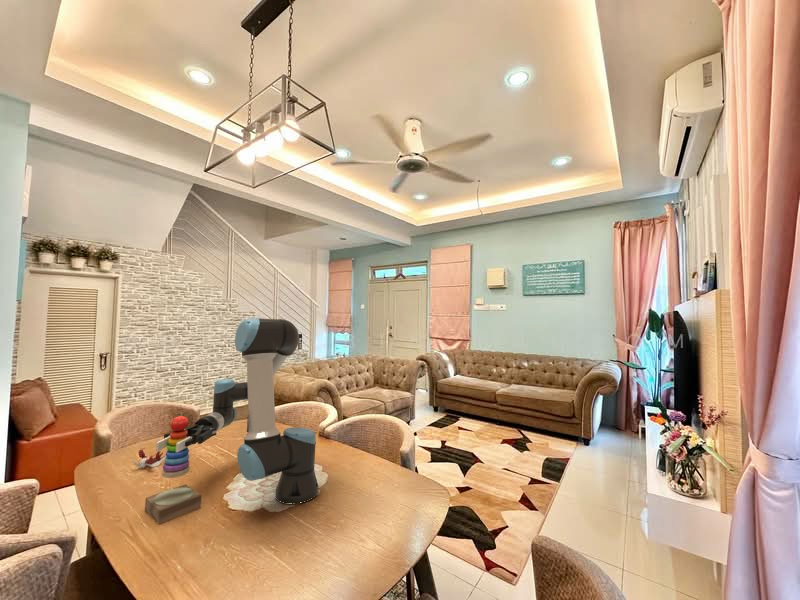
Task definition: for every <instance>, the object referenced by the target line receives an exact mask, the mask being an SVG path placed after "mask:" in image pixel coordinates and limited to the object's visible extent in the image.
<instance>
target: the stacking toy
mask: <svg viewBox="0 0 800 600" xmlns="http://www.w3.org/2000/svg"><path fill="white" fill-rule="evenodd" d="M188 425H189V419H188V418H187V417H186V416H183V415H179V416H176V417H174V418H173V419H172V420H171V422H170V428H171V431H172V432H171V431H170V432H171V433H170V437H171V438H170V439H169V440H168V444H169V445H168V446H167V447H166V452H165V457H166V458H165V459H164V460H163V461H164V463H163V464H162V471H161V476H162V477H164V478H166V479H175V478H180V477H182V476H183V477H184V476H185V475H186V474H188V473H189V472H190V470H191V467H190V454H189V453H190V449H189V447H186V448H184V449H183V450H181V451H179V452H176V443H178V442H180V441H182V440H184V439H186V438H187V437H186V435H187V434H188V432H187V430H185V429H186V428H188V427H189V426H188Z"/></svg>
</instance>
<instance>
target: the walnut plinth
mask: <svg viewBox="0 0 800 600" xmlns="http://www.w3.org/2000/svg"><path fill="white" fill-rule="evenodd" d="M201 505H202V495H201V494H200V493H198V491H196V490H194V489H193V488H191V487H190V486H189V485H188V484H183V485H180V486H177V487H174V488H172V489H171V488H170V489H168V490H164V491H162V492H160V493H156V494H154V495H150V496H147V497H145V502H144V511H145V512H146V514H148V515H149V516H150V517H151V518H152V519H153V520H154V521H155V520H156V521H157V522H158V523H159V524H158V523H157V522H156V521H155V522H156V523H157V524H158V525H161V524H163V523H162V522H164V523H166V522H169V521H171V520H174V519H177V518H179V517H181V516H184V515H186V514H189V513H191V512H193V510H194V511H196V510H198V508H199V509H201V508H202V507H201ZM188 512H189V513H188ZM168 520H169V521H168ZM165 521H166V522H165Z"/></svg>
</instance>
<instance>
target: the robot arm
mask: <svg viewBox="0 0 800 600" xmlns="http://www.w3.org/2000/svg"><path fill="white" fill-rule="evenodd" d="M299 342H300V333H299V331H298V328H297V326H296V325H295V324H294V323H292V322H291V321H289V320H287V319H283V318H277V319H276V318H260V317H259V318H258V317H256V318H246V319H243V320H242V321H241V322H240V324H239V325H238V327H237V329H236V331H235V336H234V346H235V350H236V351H237V352H240V353H241V358H242V359H243V360H245V362H246V375H247V376H246V377H247V378H246V379H247V380H246V381H244V382H235V380H234V379H233V378H222V379H218V380H216V381H215V383H214V387H213V398H212V400H213V401H212V402H213V403H212V404H213V405H212V412H211V413H209V414H207V415H205V416H203V417H200V418H198V419H197V420H196V421H195V422H194V424H192V425H191V426H187V428H186V429H185V430H187V432H188V434H187V435H186V437H187V438H186V439H184V440H182V441H180V442H178V443H176V452H179V451H181V450H183V449H184V448H186V447H187V448H189V447H190V446H191V445H197V444H198V445H201V444H203V443H205V442H206V441H208V440H209V439H210V438H212V437H214V436H217V432H218V431H220V430H222V429H224V428H226V427H228V426H230V425H231V424H233V422H234V421H235V420H236V418H237V417H238V416H237V415H238V412H237V410H236V408H235V407H234V402H239V401H245V400H247V409H248V410H247V420H249V432H247V434H245V437H244V439H243V444H242V445H240V447H239V448H238V449H237V455H236V456H237V457H236V459H237V464H238V468H239V471H240V472H241V475H242V476H243V478H245V480H247V481H250V482H252V481H257V480H262V479H265V478H267V477H269V476H273V475H276V474H279V473H281V474H280V477H279V480H278V482H277V486H276V488H275V492H274V497H276V498H277V499H278V500H279V501H281V502H284V503H292V504H291V505H294V504H293V503H300V502H304V501H307V500H309V499H311V498H313V497H314V496H315V495H316V494H317V493H318V494H319V483H318V480H317V475H316V473H315V460H316V445H317V439H316V435H317V434H316V433H315V431H314V430H313V429H310V428H307V427H298V426H297V427H296V426H294V427H293V426H292V427H286V428H285V429H284V430H283V432H282V434H283V435H281V431H280V430H279V429H277V427H276V409H275V407H276V406H275V388H274V387H275V386H274V385H275V384H274V377H275V375H276V373H277V372H278V370H280V368H281V367H282V365H283V363H284V362H285V361H286V359H287V358H288V357H289V356H292V355H293V354H294V353H295V351H296V350H297V348H298V346H299V344H300V343H299ZM172 431H173V430H171V431H169V432H167V433H164V434H163V439H161V440H159V441H157V442H155V452H158V451H161V450H163V449H165V448H167V446H168V445H169V444H168V440H169V439H170V438H171V437H170V433H171V432H172ZM318 494H317V495H318ZM276 498H275V499H276ZM313 499H314V498H313ZM279 501H278V502H279ZM281 502H280V503H281ZM307 502H308V501H307ZM284 503H283V504H284ZM300 504H301V503H300Z"/></svg>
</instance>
